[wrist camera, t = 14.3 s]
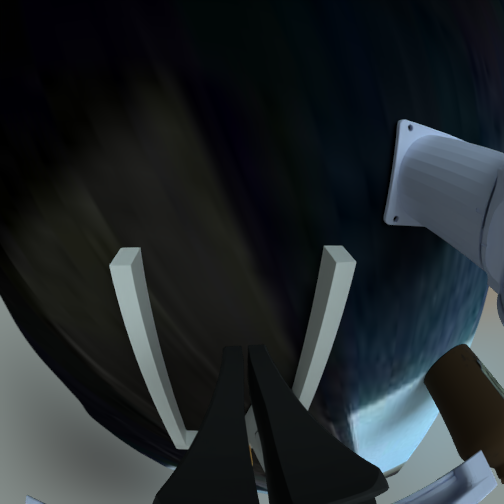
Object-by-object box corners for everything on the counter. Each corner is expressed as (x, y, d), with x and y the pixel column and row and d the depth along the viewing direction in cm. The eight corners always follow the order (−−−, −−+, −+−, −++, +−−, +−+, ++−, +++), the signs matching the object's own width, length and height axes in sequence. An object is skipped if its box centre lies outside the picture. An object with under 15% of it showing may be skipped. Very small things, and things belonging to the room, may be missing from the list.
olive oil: (426, 392, 35) (479, 496, 13) (414, 376, 31) (480, 506, 9) (471, 354, 33) (533, 451, 11) (467, 329, 29) (548, 449, 7)
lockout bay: (342, 245, 19) (376, 286, 15) (289, 429, 33) (297, 460, 28) (120, 248, 18) (92, 292, 13) (177, 434, 31) (176, 467, 26)
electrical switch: (261, 382, 26) (284, 460, 18) (304, 380, 28) (333, 449, 20) (240, 421, 30) (255, 483, 22) (277, 418, 32) (295, 476, 24)
